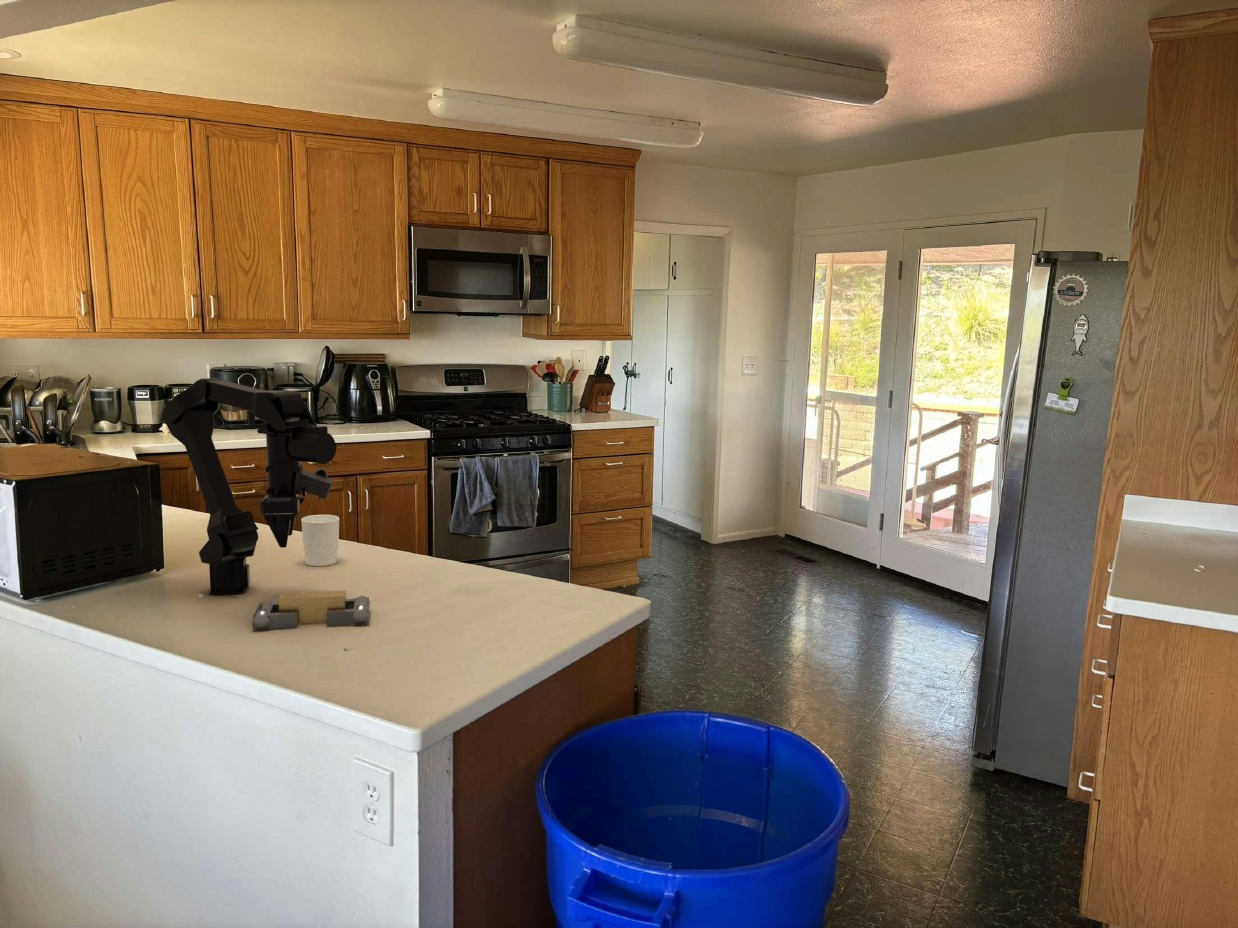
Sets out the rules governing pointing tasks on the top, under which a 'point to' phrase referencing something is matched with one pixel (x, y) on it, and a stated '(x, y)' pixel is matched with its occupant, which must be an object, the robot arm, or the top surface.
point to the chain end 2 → (350, 613)
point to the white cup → (320, 539)
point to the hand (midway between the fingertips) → (286, 541)
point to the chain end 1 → (272, 617)
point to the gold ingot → (312, 605)
